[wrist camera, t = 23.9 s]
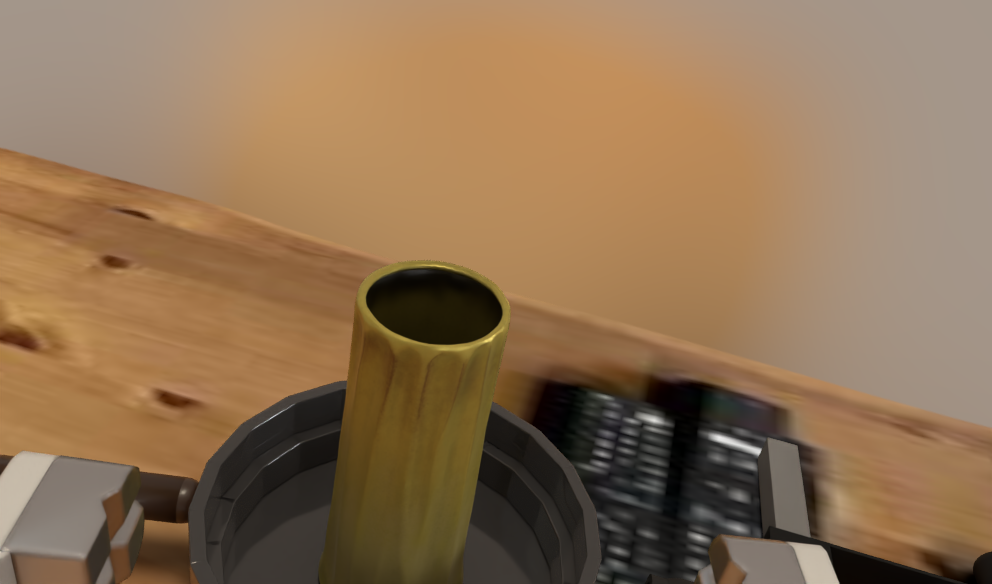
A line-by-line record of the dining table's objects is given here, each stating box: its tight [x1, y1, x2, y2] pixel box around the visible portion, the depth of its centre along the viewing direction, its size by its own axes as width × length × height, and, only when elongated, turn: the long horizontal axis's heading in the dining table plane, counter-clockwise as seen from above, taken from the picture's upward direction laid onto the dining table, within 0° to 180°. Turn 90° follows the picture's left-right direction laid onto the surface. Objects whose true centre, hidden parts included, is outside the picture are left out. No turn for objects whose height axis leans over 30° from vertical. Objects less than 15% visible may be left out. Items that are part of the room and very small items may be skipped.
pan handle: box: [0, 455, 199, 523], centre depth 34 cm, size 11×2×2 cm, turn 90°
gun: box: [645, 437, 992, 584], centre depth 40 cm, size 3×20×16 cm
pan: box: [188, 381, 602, 584], centre depth 36 cm, size 16×16×4 cm
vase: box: [318, 260, 511, 584], centre depth 33 cm, size 6×6×14 cm
